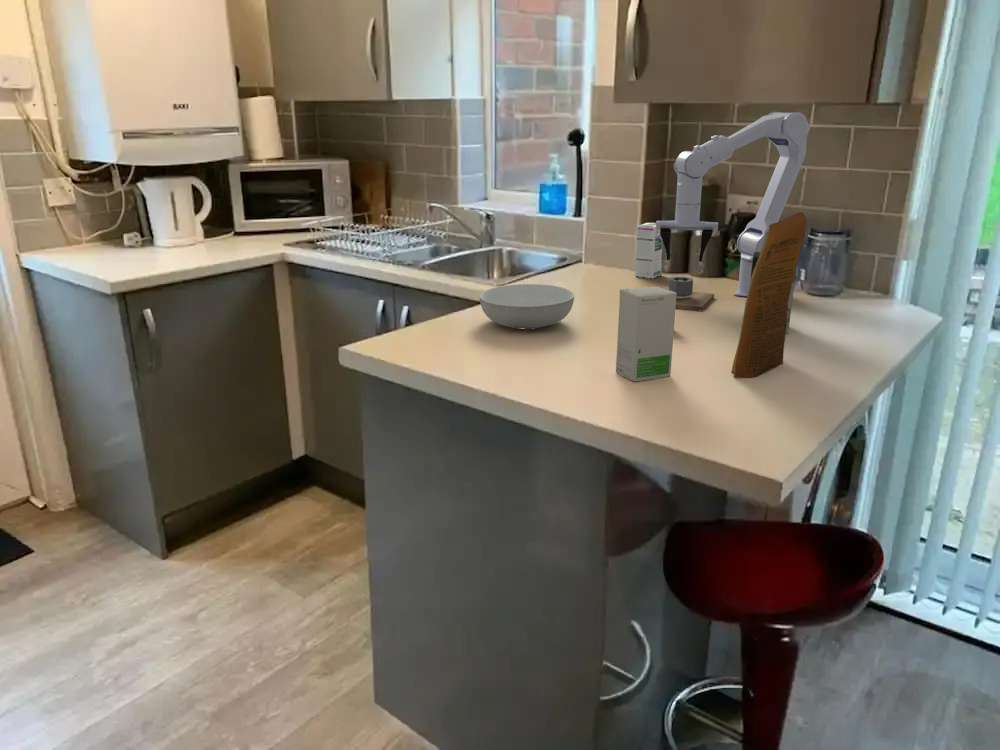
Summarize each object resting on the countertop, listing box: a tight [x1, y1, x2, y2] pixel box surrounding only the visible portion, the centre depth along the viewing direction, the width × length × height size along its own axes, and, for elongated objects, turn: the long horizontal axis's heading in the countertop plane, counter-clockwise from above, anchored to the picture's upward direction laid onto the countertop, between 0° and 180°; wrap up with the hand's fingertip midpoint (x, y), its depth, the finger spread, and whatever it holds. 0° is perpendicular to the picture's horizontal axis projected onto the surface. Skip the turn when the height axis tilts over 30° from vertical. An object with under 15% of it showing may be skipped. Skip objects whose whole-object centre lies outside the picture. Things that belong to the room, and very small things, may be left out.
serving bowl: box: [478, 283, 575, 330], centre depth 173 cm, size 21×21×7 cm
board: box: [665, 288, 715, 312], centre depth 192 cm, size 14×14×1 cm
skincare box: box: [615, 286, 677, 383], centre depth 140 cm, size 8×7×16 cm
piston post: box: [676, 280, 691, 300], centre depth 191 cm, size 5×5×4 cm
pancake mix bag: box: [731, 211, 807, 379], centre depth 140 cm, size 7×19×28 cm, turn 135°
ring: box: [668, 276, 694, 296], centre depth 191 cm, size 6×6×4 cm
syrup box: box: [634, 222, 664, 279], centre depth 217 cm, size 6×6×14 cm
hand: (684, 259), depth 191 cm, fingers open, 7 cm apart
